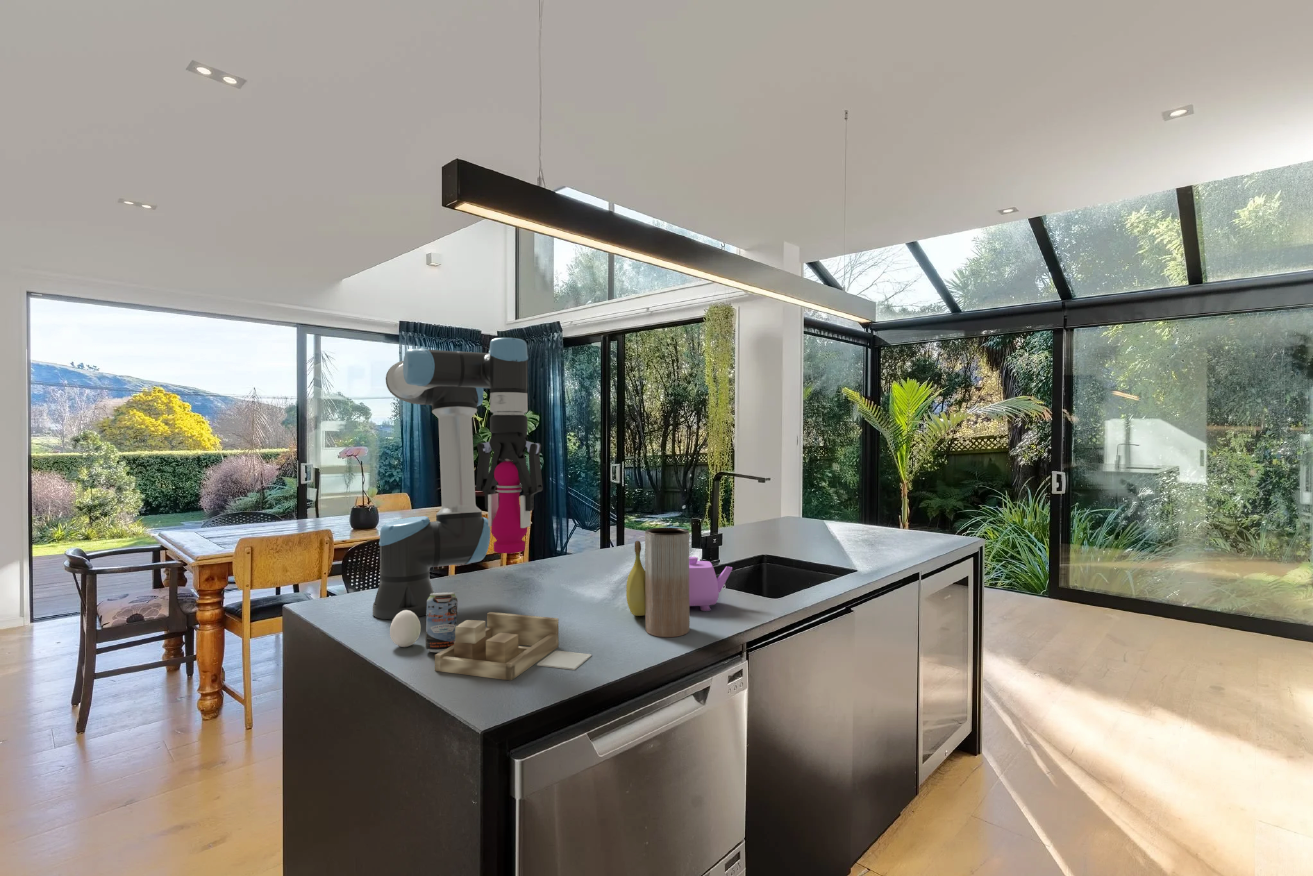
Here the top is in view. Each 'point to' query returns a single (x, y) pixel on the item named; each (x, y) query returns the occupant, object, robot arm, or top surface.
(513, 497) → the pepper mill
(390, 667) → the top surface
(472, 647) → the block
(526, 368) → the robot arm
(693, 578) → the teapot
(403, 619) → the egg
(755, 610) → the top surface
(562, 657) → the mat
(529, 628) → the tray
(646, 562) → the planter
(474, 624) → the block
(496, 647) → the block
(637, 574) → the banana
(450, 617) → the beverage can
